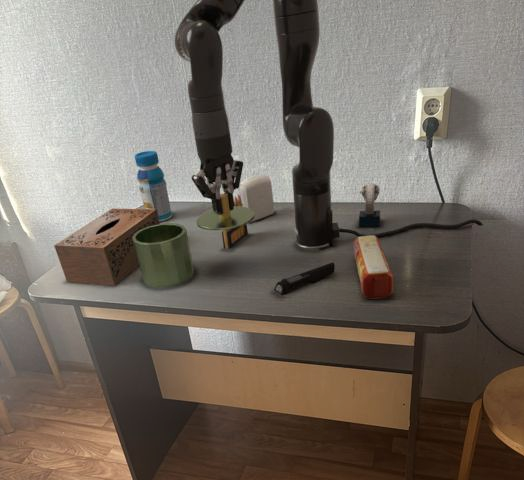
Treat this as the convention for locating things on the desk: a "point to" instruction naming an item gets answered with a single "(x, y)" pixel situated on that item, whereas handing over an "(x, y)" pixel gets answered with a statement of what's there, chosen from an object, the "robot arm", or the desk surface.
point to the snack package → (372, 268)
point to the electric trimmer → (304, 278)
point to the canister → (163, 254)
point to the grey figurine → (369, 207)
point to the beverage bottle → (153, 184)
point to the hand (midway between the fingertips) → (224, 211)
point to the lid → (225, 217)
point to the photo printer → (257, 195)
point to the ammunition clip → (234, 230)
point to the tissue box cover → (104, 247)
